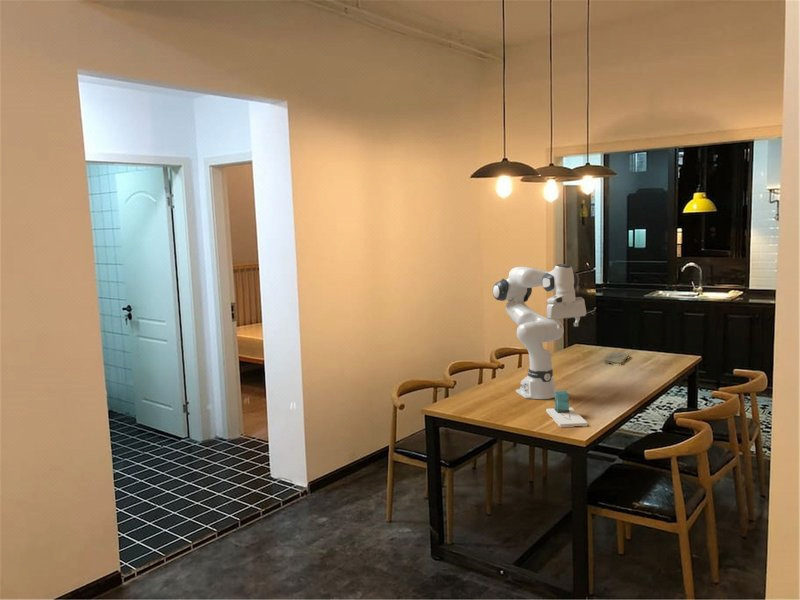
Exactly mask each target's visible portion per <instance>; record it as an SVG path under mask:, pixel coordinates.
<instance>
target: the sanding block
mask: <svg viewBox="0 0 800 600" xmlns="http://www.w3.org/2000/svg"><path fill="white" fill-rule="evenodd" d="M569 394H570V393H569V392H568V391H566V390H555V397H554V408H555V411H556V412H557V413H569V408H570V400H569V399H570V396H569Z"/></svg>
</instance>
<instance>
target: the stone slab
mask: <svg viewBox="0 0 800 600" xmlns="http://www.w3.org/2000/svg"><path fill="white" fill-rule="evenodd" d="M628 357H629V358H630V354H629V353H624V352H619V351H612V352H609V354H607V355H606V356H605V359H604V360H603V362H604V363H605V364H606V363H611V364H610V365H613V364H622V363H623V362H624V361H625V360H626V359H627V358H628ZM627 360H628V359H627ZM627 360H626V361H627ZM626 361H625V362H626ZM625 362H624V363H625ZM624 363H623V364H624ZM623 364H622V365H623Z"/></svg>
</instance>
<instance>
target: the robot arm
mask: <svg viewBox="0 0 800 600" xmlns="http://www.w3.org/2000/svg"><path fill="white" fill-rule="evenodd" d="M579 283H580V277H579V276H578V274H577V273H576V271H575V270H573V267H572V265H570V264H564V263H561V264H556V265H555V266H554V268H553V269H552V270H551V271H546V270H543V269H537V268H534V267H530V266H516V267H513V268H512V269H510V271H509V273H508V277H507V278H501V280H499V281H496V283H495V284H494V285H493V287H492V294H493V297H494V299H495V300H497V301H501V302H504V301H507V303H506V305H505V312H506V314H507V315H508V316H509V318H510V319H511V320H512V321H513V322H514V323H515V325H516V326H518V327H516V328H517V329H516V338H517V339H518V341H519V342H520V343H521V344H523V345H524V346H525V348H526V349H527V352H528V357H529V358H528V359H529V368H528V369H527V376H525V377H524V378H523V379H522V380H520V387H519V388H517V389H515V392H516V393H517V394H518V395H520V396H521V397H523V398H524V399H534V400H550V399H553V398H554V399H555V391H556V384H555V379H554V377H553V376H554V374H553V373H554V372H553V371H554V370H553V366H552V363H553V361H552V354H551V352H550V351H548V349H545V348H544V345H543V343H549V342H553V341H558V340H561V338H562V337H563V336H564V333H565V332H564V331H565V330H564V326H563V324H562V322H561V321H560V319H569V318H574V319H575V321H574V322H573V327H579V322H580V320H581V317H585V316H586V315H587V309H586V302H585V299H584V298H583V297H582V296H577V297H576V289H577V288H578V286H579ZM536 287H542V288H543V289H544V290H545V291H546V292H547V293H549V292H550V293H554V292H555V294H554V295H553V296H552V297H548V298H546V302H547V305H546V317H545V316H544V315H541V314H539V313H537V312H535V311H534V310H533V309H532V308H530V307H529V306H528V304H526V302H527V301H528V300H529V298H531V297H530V296H531V295H532V292H533V288H536Z"/></svg>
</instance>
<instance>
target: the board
mask: <svg viewBox="0 0 800 600" xmlns="http://www.w3.org/2000/svg"><path fill="white" fill-rule="evenodd" d="M546 413H547V414H548V415H549V417H552V418H553V419H552V418H551V419H552V420H553V421H554V422H555V423H556V424H557V425H558V427H559V426H560V428H575V427H574V426H583V427H588V426H589V424H588V421H586V419H585V418H584V417H582V416H581V415H580V414H579V413H578V412H577V411H576V410H575V409H574V408H573V407H569V413H557V412H556V411H555V407H554V408H553V407H552V408H546ZM587 425H588V426H587Z"/></svg>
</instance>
